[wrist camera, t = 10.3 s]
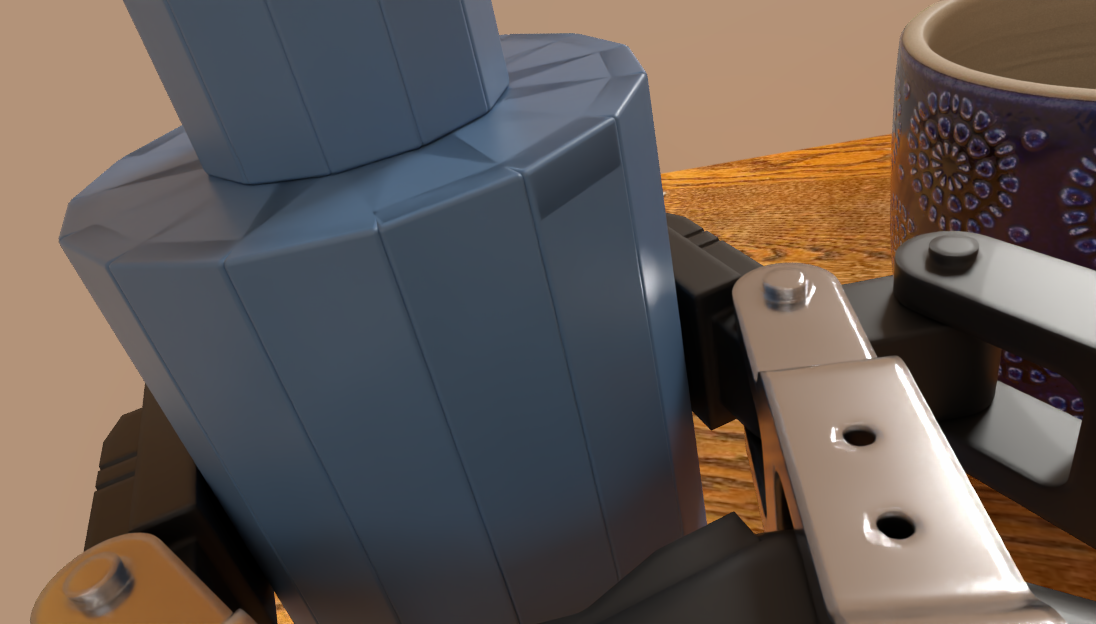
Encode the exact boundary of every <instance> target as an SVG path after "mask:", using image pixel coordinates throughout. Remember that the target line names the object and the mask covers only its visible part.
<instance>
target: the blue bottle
mask: <svg viewBox="0 0 1096 624" xmlns="http://www.w3.org/2000/svg"><path fill="white" fill-rule="evenodd" d="M123 1H124V3H125V5H126V7H127V10H128V12H129V14H130V16H131V18H132V20H133V22H134V24H135V26H136V29H137V31H138V33H139V35H140V37H141V39H142V41H143V43H144V45H145V47H146V49H147V52H148V54H149V56H150V58H151V60H152V62H153V64H154V66H155V69H156V71H157V73H158V75H159V77H160V79H161V81H162V83H163V85H164V87H165V90H166V91H167V94H168V96H169V98H170V100H171V102H172V104H173V106H174V108H175V111H176V113H177V115H178V117H179V119H180V121H181V123H182V126H180V127H178V128H176V129H174V130H173V131H171V132H169V133H167V134H165V135H163V136H162V137H160V138H158V139H156V140H154V141H152V142H150V143H149V144H147V145H145V146H143V147H141V148H139V149H138V150H136V151H134V152H132V153H130V154H128V155H126V156H125V157H123V158H122V159H121V160H118V161H117V162H116V163H115V164H113V165H112V166H111V167H110V168H109V169H107V170H106V171H105V172H104V173H103V174H101V175H100V176H99V177H98V178H97V179H96V180H94V181H93V182H92V183H91V184H90V185H88V186H87V187H86V188H85V189H84V190H83V191H81V192H80V193H79V194H78V195H76V196H75V197H74V198H73V199H72V200H71V201H70V202H69V203H68V207H67V210H66V214H65V217H64V221H63V225H62V229H61V232H60V236H59V243H60V246H61V247H62V249H63V251H64V252H65V254H66V255H67V257H68V259H69V260H70V262H71V263H72V265H73V267H74V268H75V270H76V272H77V273H78V275H79V276H80V278H81V280H82V281H83V283H84V284H85V286H86V288H87V289H88V291H89V293H90V294H91V296H92V297H93V299H94V301H95V302H96V304H97V305H98V307H99V308H100V310H101V312H102V314H103V315H104V317H105V318H106V320H107V322H108V323H109V325H110V326H111V328H112V330H113V331H114V333H115V335H116V336H117V338H118V339H119V341H120V343H121V344H122V346H123V348H124V349H125V351H126V352H127V354H128V356H129V357H130V359H131V360H132V362H133V364H134V365H135V367H136V369H137V370H138V372H139V373H140V375H141V377H142V378H143V380H144V381H145V383H146V385H147V386H148V388H149V390H150V391H151V393H152V394H153V396H154V398H155V399H156V401H157V402H158V404H159V406H160V407H161V409H162V411H163V412H164V414H165V415H166V417H167V419H168V420H169V422H170V423H171V425H172V427H173V428H174V430H175V432H176V433H177V435H178V436H179V438H180V440H181V441H182V443H183V444H184V446H185V448H186V449H187V451H188V453H189V454H190V456H191V457H192V459H193V461H194V462H195V464H196V465H197V467H198V469H199V470H200V472H201V474H202V475H203V477H204V478H205V480H206V482H207V483H208V485H209V486H210V488H211V490H212V491H213V493H214V495H215V496H216V498H217V499H218V501H219V503H220V504H221V506H222V507H223V509H224V511H225V512H226V514H227V516H228V517H229V519H230V520H231V522H232V524H233V525H234V527H235V528H236V530H237V532H238V533H239V535H240V537H241V538H242V540H243V541H244V543H245V545H246V546H247V548H248V549H249V551H250V553H251V554H252V556H253V558H254V559H255V561H256V562H257V564H258V566H259V567H260V569H261V570H262V572H263V574H264V575H265V577H266V579H267V580H268V582H269V583H270V585H271V587H272V588H273V590H274V591H275V593H276V595H277V596H278V598H279V600H280V601H281V603H282V604H283V606H284V608H285V609H286V611H287V612H288V614H289V616H290V617H291V619H292V621H293V622H294V624H538V623H542V622H546V621H550V620H554V619H558V618H562V617H566V616H570V615H573V614H576V613H579V612H581V611H583V610H585V609H586V608H588V607H589V606H590V605H592V604H593V603H594V602H595V601H596V600H598V599H599V598H600V597H601V596H602V595H604V594H605V593H606V592H607V591H608V590H609V589H611V588H612V587H613V586H614V585H615V584H617V583H618V582H619V581H620V580H621V579H623V578H624V577H625V576H626V575H627V574H629V573H630V572H631V571H632V570H633V569H634V568H636V567H637V566H638V565H639V564H640V563H642V562H643V561H644V560H645V559H646V558H648V557H649V556H650V555H651V554H652V553H654V552H655V551H656V550H658V549H660V548H662V547H664V546H666V545H668V544H670V543H672V542H674V541H676V540H678V539H680V538H682V537H684V536H686V535H688V534H690V533H692V532H694V531H696V530H698V529H700V528H702V527H704V526H706V525H707V521H706V514H705V506H704V498H703V491H702V483H701V476H700V468H699V461H698V453H697V446H696V438H695V431H694V423H693V416H692V408H691V401H690V393H689V386H688V378H687V371H686V363H685V356H684V348H683V340H682V333H681V325H680V318H679V310H678V303H677V295H676V288H675V280H674V273H673V265H672V258H671V250H670V243H669V235H668V228H667V220H666V213H665V205H664V198H663V190H662V182H661V175H660V168H659V160H658V153H657V145H656V137H655V130H654V122H653V115H652V108H651V100H650V92H649V85H648V78H647V74H646V72H645V71H644V69H643V67H642V66H641V65H640V63H639V62H638V60H637V59H636V57H635V56H634V55H633V53H632V51H631V50H630V48H629V47H628V46H626V45H624V44H620V43H615V42H611V41H607V40H603V39H598V38H594V37H590V36H586V35H582V34H573V33H569V34H568V33H563V34H562V33H560V34H510V35H499V33H498V29H497V24H496V20H495V15H494V11H493V7H492V2H491V0H123Z"/></svg>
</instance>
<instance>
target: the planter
mask: <svg viewBox="0 0 1096 624" xmlns="http://www.w3.org/2000/svg"><path fill="white" fill-rule="evenodd" d="M939 231H962V232H971V233H977V234H981V235H985V236H988V237H991V238H995V239H998V240H1001V241H1004V242H1007V243H1010V244H1013V245H1017V246H1020V247H1023V248H1026V249H1029V250H1032V251H1035V252H1038V253H1042V254H1045V255H1048V256H1051V257H1054V258H1057V259H1060V260H1063V261H1067V262H1070V263H1073V264H1076V265H1079V266H1082V267H1085V268H1089V269H1092V270H1095V271H1096V0H940V1H938V2H937V3H934V4H933V5H931V6H929V7H927V8H926V9H924V10H923V11H922V12H920V13H919V14H918V15H917V16H915V17H914V18H913V19H912V20H911V21H910V22H909V23H908V24H907V26H906V27H905V28H904V30H903V32H902V34H901V37H900V41H899V49H898V58H897V67H896V76H895V91H894V110H893V129H892V148H891V199H890V237H891V259H892V272H893V275H894V262H895V252H896V250H897V249H898V247H899V246H900V245H901V244H902V243H904V242H905V241H907V240H909V239H911V238H913V237H916V236H919V235H922V234H927V233H932V232H939ZM997 380H998V381H1000V382H1002V383H1004V384H1006V385H1009V386H1011V387H1013V388H1015V389H1017V390H1019V391H1021V392H1023V393H1025V394H1028V395H1030V396H1032V397H1034V398H1036V399H1038V400H1040V401H1042V402H1045V403H1047V404H1049V405H1051V406H1053V407H1055V408H1057V409H1059V410H1061V411H1064V412H1066V413H1068V414H1070V415H1072V416H1074V417H1076V418H1078V419H1081V420H1082V418H1083V413H1084V404H1083V400H1082V398H1081V396H1080V394H1079V392H1078V391H1077V389H1076V388H1075V387H1074V386H1073V385H1072V384H1071V383H1070V382H1069V381H1068V380H1067V379H1065V378H1064V377H1062V376H1061V375H1059V374H1057V373H1055V372H1053V371H1050V370H1048V369H1046V368H1043V367H1041V366H1039V365H1037V364H1034V363H1032V362H1030V361H1027V360H1025V359H1023V358H1021V357H1018V356H1016V355H1014V354H1011V353H1009V352H1007V351H1005V350H1002V352H1001V359H1000V366H999V372H998V379H997Z"/></svg>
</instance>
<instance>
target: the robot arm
mask: <svg viewBox="0 0 1096 624" xmlns="http://www.w3.org/2000/svg"><path fill="white" fill-rule="evenodd" d="M666 220H667V228H668V235H669V243H670V250H671V258H672V265H673V273H674V280H675V288H676V295H677V303H678V310H679V318H680V325H681V333H682V340H683V348H684V356H685V363H686V371H687V378H688V386H689V393H690V401H691V408H692V411H693V412H694V413H695V414H696V415H697V416H698V417H699V418H700V419H701V420H702V421H703V422H704V424H705V425H706V426H707V427H708V428H709V429H710V430H713V429H716V428H718V427H720V426H722V425H724V424H726V423H728V422H731V421H733V420H735V419H738V420H739V421H740V422H741V423H742V424H743V425H744V434H745V446H746V451H747V455H748V460H749V464H750V469H751V473H752V478H753V482H754V487H755V491H756V496H757V500H758V505H759V509H760V514H761V518H762V523H763V527H764V533H759V534H754V533H753V532H752V531H751V530H750V529H749V528H748V526H747V525H746V524H745V523H744V522H743V521H742V520H741V519H740V518H739V516H738V515H737V514H736V513H735V512H732V513H730V514H728V515H726V516H724V517H722V518H720V519H718V520H716V521H714V522H712V523H710V524H708V525H706V526H704V527H702V528H700V529H698V530H696V531H694V532H692V533H690V534H688V535H686V536H684V537H682V538H680V539H678V540H676V541H674V542H672V543H670V544H668V545H666V546H664V547H662V548H660V549H658V550H656V551H655V552H654V553H652V554H651V555H650V556H649V557H648V558H646V559H645V560H644V561H643V562H642V563H640V564H639V565H638V566H637V567H636V568H634V569H633V570H632V571H631V572H630V573H629V574H627V575H626V576H625V577H624V578H623V579H621V580H620V581H619V582H618V583H617V584H615V585H614V586H613V587H612V588H611V589H609V590H608V591H607V592H606V593H605V594H604V595H602V596H601V597H600V598H599V599H598V600H596V601H595V602H594V603H593V604H592V605H590V606H589V607H588V608H586V609H585V610H583V611H581V612H579V613H576V614H573V615H570V616H566V617H562V618H558V619H554V620H550V621H546V622H542V623H538V624H1096V601H1093V600H1089V599H1085V598H1082V597H1078V596H1075V595H1071V594H1067V593H1064V592H1060V591H1056V590H1053V589H1049V588H1046V587H1042V586H1038V585H1035V584H1031V583H1028V582H1025V581H1024V580H1023V578H1022V576H1021V574H1020V572H1019V571H1018V569H1017V567H1016V565H1015V563H1014V561H1013V560H1012V558H1011V556H1010V554H1009V552H1008V551H1007V549H1006V547H1005V545H1004V543H1003V541H1002V540H1001V538H1000V536H999V534H998V532H997V530H996V529H995V527H994V525H993V523H992V521H991V519H990V518H989V516H988V514H987V512H986V510H985V508H984V507H983V505H982V503H981V501H980V499H979V498H978V496H977V494H976V492H975V490H974V488H973V487H972V485H971V483H970V481H969V479H968V477H967V476H966V474H965V472H966V473H967V474H969V475H971V476H972V477H974V478H976V479H978V480H979V481H981V482H983V483H984V484H986V485H988V486H989V487H991V488H993V489H994V490H996V491H998V492H999V493H1001V494H1003V495H1005V496H1006V497H1008V498H1010V499H1011V500H1013V501H1015V502H1016V503H1018V504H1020V505H1021V506H1023V507H1025V508H1026V509H1028V510H1030V511H1032V512H1033V513H1035V514H1037V515H1038V516H1040V517H1042V518H1043V519H1045V520H1047V521H1048V522H1050V523H1052V524H1053V525H1055V526H1057V527H1059V528H1060V529H1062V530H1064V531H1065V532H1067V533H1069V534H1070V535H1072V536H1074V537H1075V538H1077V539H1079V540H1080V541H1082V542H1084V543H1086V544H1087V545H1089V546H1091V547H1092V548H1094V549H1096V271H1095V270H1092V269H1089V268H1085V267H1082V266H1079V265H1076V264H1073V263H1070V262H1067V261H1063V260H1060V259H1057V258H1054V257H1051V256H1048V255H1045V254H1042V253H1038V252H1035V251H1032V250H1029V249H1026V248H1023V247H1020V246H1017V245H1013V244H1010V243H1007V242H1004V241H1001V240H998V239H995V238H991V237H988V236H985V235H981V234H977V233H971V232H962V231H939V232H932V233H927V234H922V235H919V236H916V237H913V238H911V239H909V240H907V241H905V242H904V243H902V244H901V245H900V246H899V247H898V249H897V250H896V252H895V262H894V275H891V276H886V277H881V278H876V279H871V280H865V281H860V282H855V283H850V284H844V285H841V284H840V282H839V281H838V279H837V278H836V277H835V276H834V275H833V274H832V273H830V272H828V271H827V270H825V269H822V268H820V267H817V266H813V265H809V264H803V263H778V264H772V265H766V266H763V265H761V264H759V263H758V262H756V261H755V260H753V259H751V258H750V257H748V256H747V255H745V254H743V253H742V252H740V251H739V250H737V249H735V248H734V247H732V246H731V245H729V244H727V243H726V242H724V241H723V240H722V241H719V239H718V237H716V236H714V235H713V234H711V233H710V232H708V231H705V232H704V230H703V228H702V227H700V226H698V225H697V224H695V223H694V222H692V221H690V220H689V219H687V218H686V217H683V216H679V215H674V214H670V213H666ZM1002 350H1005V351H1007V352H1009V353H1011V354H1014V355H1016V356H1018V357H1021V358H1023V359H1025V360H1027V361H1030V362H1032V363H1034V364H1037V365H1039V366H1041V367H1043V368H1046V369H1048V370H1050V371H1053V372H1055V373H1057V374H1059V375H1061V376H1062V377H1064V378H1065V379H1067V380H1068V381H1069V382H1070V383H1071V384H1072V385H1073V386H1074V387H1075V388H1076V389H1077V391H1078V392H1079V394H1080V396H1081V398H1082V400H1083V404H1084V413H1083V418H1082V420H1081V419H1078V418H1076V417H1074V416H1072V415H1070V414H1068V413H1066V412H1064V411H1061V410H1059V409H1057V408H1055V407H1053V406H1051V405H1049V404H1047V403H1045V402H1042V401H1040V400H1038V399H1036V398H1034V397H1032V396H1030V395H1028V394H1025V393H1023V392H1021V391H1019V390H1017V389H1015V388H1013V387H1011V386H1009V385H1006V384H1004V383H1002V382H1000V381H998V380H997V379H998V372H999V366H1000V359H1001V352H1002ZM99 467H100V471H98V475H97V481H96V486H95V487H96V489H97V491H95V492H94V497H93V503H92V509H91V514H90V519H89V525H88V530H87V536H86V541H85V547H84V552H83V553H82V554H80V555H79V556H77V557H76V558H74V559H73V560H72V561H71V562H69V563H68V564H67V565H66V566H64V567H63V568H62V569H61V570H60V571H59V572H58V573H57V574H56V575H55V576H54V577H53V578H52V579H51V580H50V581H49V583H48V584H47V585H46V587H45V588H44V589H43V590H42V592H41V593H40V595H39V597H38V598H37V600H36V602H35V605H34V607H33V609H32V613H31V618H30V624H277V615H276V606H275V597H274V590H273V588H272V587H271V585H270V583H269V582H268V580H267V579H266V577H265V575H264V574H263V572H262V570H261V569H260V567H259V566H258V564H257V562H256V561H255V559H254V558H253V556H252V554H251V553H250V551H249V549H248V548H247V546H246V545H245V543H244V541H243V540H242V538H241V537H240V535H239V533H238V532H237V530H236V528H235V527H234V525H233V524H232V522H231V520H230V519H229V517H228V516H227V514H226V512H225V511H224V509H223V507H222V506H221V504H220V503H219V501H218V499H217V498H216V496H215V495H214V493H213V491H212V490H211V488H210V486H209V485H208V483H207V482H206V480H205V478H204V477H203V475H202V474H201V472H200V470H199V469H198V467H197V465H196V464H195V462H194V461H193V459H192V457H191V456H190V454H189V453H188V451H187V449H186V448H185V446H184V444H183V443H182V441H181V440H180V438H179V436H178V435H177V433H176V432H175V430H174V428H173V427H172V425H171V423H170V422H169V420H168V419H167V417H166V415H165V414H164V412H163V411H162V409H161V407H160V406H159V404H158V402H157V401H156V399H155V398H154V396H153V394H152V393H151V391H150V390H149V388H148V386H147V385H146V383H145V389H144V398H143V407H142V408H140V409H138V410H135V411H132V412H130V413H127V414H124V415H122V417H121V418H120V419H119V421H118V422H117V424H116V425H115V426H114V428H113V429H112V431H111V432H110V434H109V435H108V437H107V438H106V439H105V441H104V442H103V447H102V453H101V458H100V464H99Z"/></svg>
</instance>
